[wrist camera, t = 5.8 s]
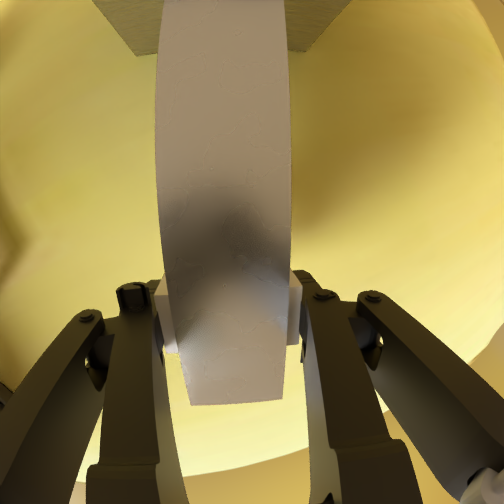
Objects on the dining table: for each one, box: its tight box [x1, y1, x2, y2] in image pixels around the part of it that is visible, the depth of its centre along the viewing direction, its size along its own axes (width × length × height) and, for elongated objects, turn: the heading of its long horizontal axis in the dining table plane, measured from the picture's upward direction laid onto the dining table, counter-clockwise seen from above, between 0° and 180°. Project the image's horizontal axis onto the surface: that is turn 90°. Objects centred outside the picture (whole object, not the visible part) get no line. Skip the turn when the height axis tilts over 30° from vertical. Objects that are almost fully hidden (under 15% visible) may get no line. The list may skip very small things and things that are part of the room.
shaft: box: [155, 0, 291, 405], centre depth 8 cm, size 26×4×4 cm, turn 1°
